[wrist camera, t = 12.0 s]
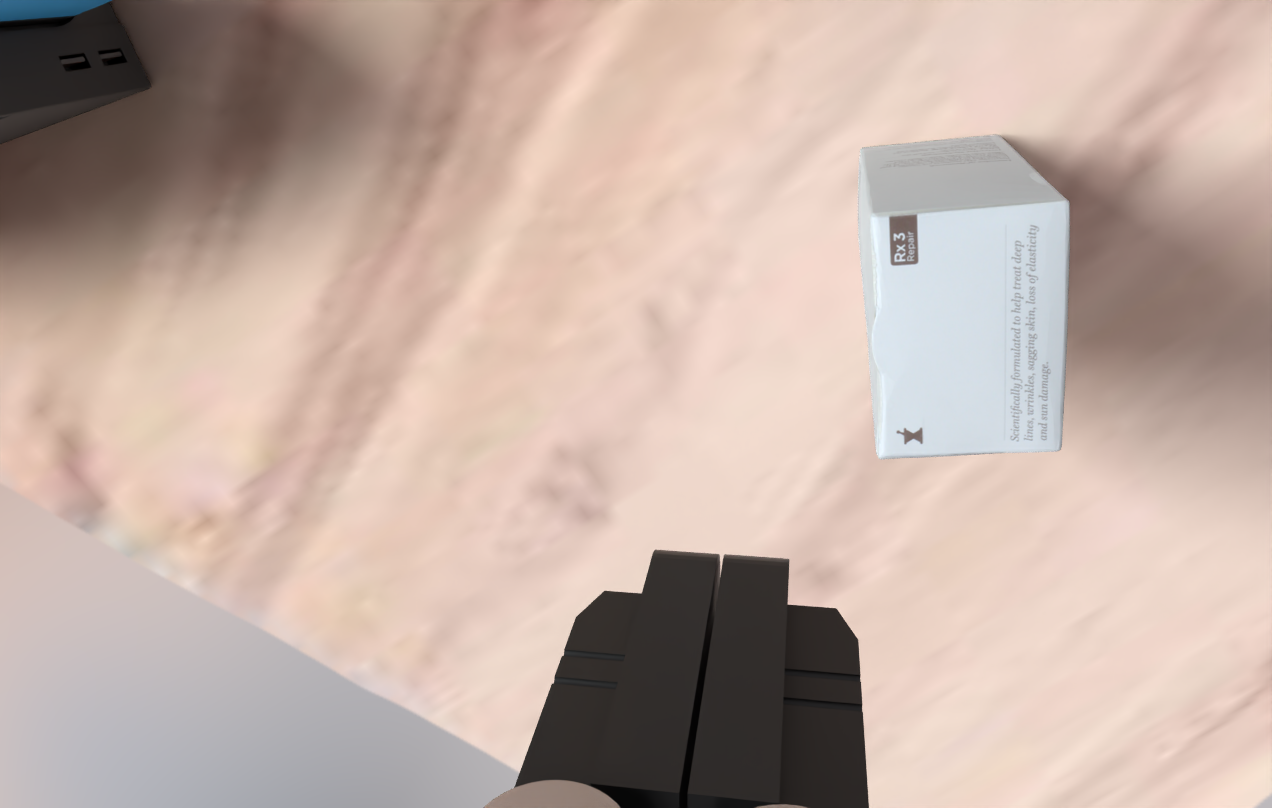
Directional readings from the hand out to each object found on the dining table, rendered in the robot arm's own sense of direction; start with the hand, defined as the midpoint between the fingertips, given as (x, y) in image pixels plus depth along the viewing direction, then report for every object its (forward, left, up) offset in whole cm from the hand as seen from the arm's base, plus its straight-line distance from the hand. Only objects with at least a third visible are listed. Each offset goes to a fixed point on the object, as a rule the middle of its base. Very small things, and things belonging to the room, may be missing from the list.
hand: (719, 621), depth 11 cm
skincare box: (-6, +4, -35) cm, 36 cm away
